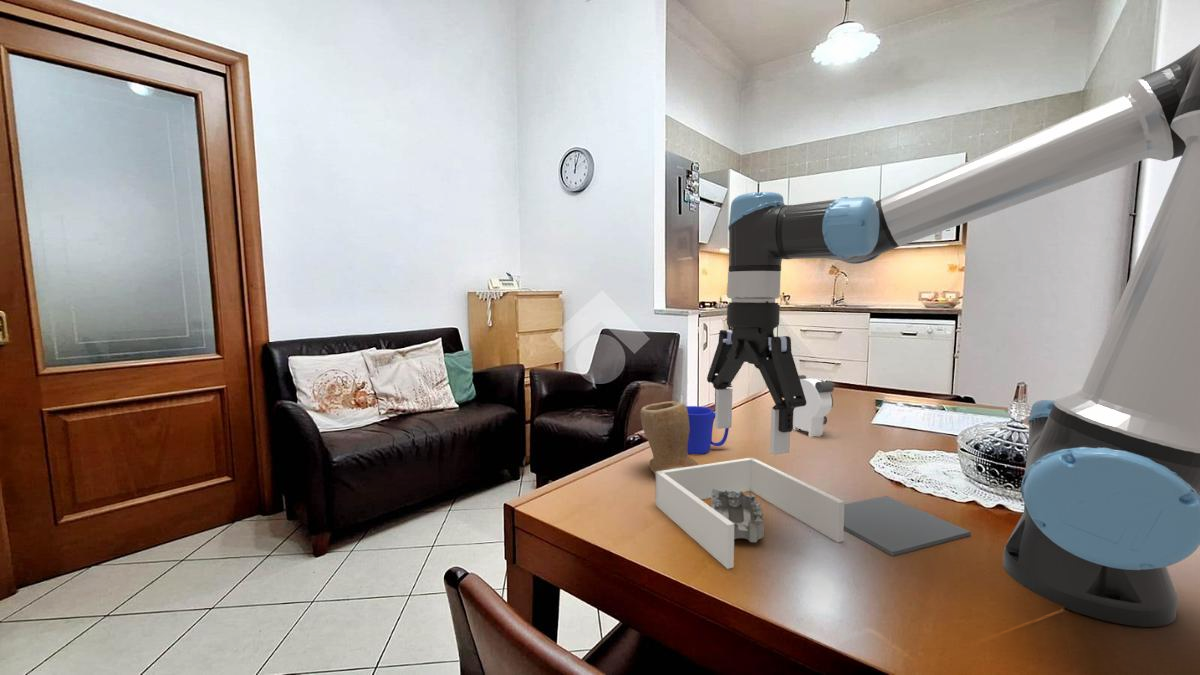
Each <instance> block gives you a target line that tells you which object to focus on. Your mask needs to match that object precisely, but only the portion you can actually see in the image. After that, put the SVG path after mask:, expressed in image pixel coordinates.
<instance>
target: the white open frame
mask: <svg viewBox="0 0 1200 675" xmlns="http://www.w3.org/2000/svg"><path fill="white" fill-rule="evenodd" d="M712 489H715V490H719V491H723V492H724V491H725V490H727V491H730V492H731V491H735V492H736V493H738V492H740V491H742V492H743V493H744V492H750V491H751V493H753V494H754V495H757V496H759V497H760V498H762V499H764V500H765V501H766V502H769V503H771V504H772V505H773V506H775V507H776V508H778V509H780V510H781V511H784V512H785V513H787V514H789V515H790V516H792V517H794V518H795V519H797V520H798V521H800V522H802V523H804V524H805V525H807V526H808V527H810V528H812V529H814V530H816V531H817V532H818V533H821V534H822V535H824V536H826V537H828V538H830V539H831V540H833V541H834V542H836V543H841V542H844V531H845V530H844V504H845V501H844V500H842V499H839V498H837V497H835V496H834V495H832V494H829V493H828V492H825V491H823V490H821V489H819V488H817V487H815V486H812V485H811V484H809V483H807V482H804V481H802V480H800V479H798V478H796V477H794V476H792V475H790V474H788V473H786V472H784V471H782V470H779V469H777V468H775V467H774V466H771V465H769V464H767V463H765V462H763V461H761V460H759V459H756V458H755V457H752V456H751V457H745V458H739V459H732V460H726V461H717V462H712V463H706V464H699V465H697V466H690V467H683V468H676V469H670V470H663V471H656V475H655V494H654V495H655V506H656V507H657V508H659V510H660V511H662V513H664V514H665V516H667V517H668V518H669V519H671V521H673V522H674V523H675V524H676V525H677V526H678V527H680V528H681V530H683V531H684V532H685V533H686V534H687V535H688V536H690V537H691V538H692V539H693V540H694V541H695V542H696V543H698V545H699V546H701V547H702V548H703V549H704V550H705V551H706V552H708V553H709V554H710V555H711V556H712V558H714V559H715V560H717V561H718V563H720V564H722V566H723V567H725V569H727V570H729V569H733V568H734V567H735V565H734V564H735V557H734V556H735V539H734V523H732V522H731V521H730V520H728V519H727V518H725V517H724V516H723V515H721V514H720V513H719V512H717V511H716V510H714V509H713V508H712V507H711V506H710V505H709V504H707V503H706V502H705V501H703V500H707V499H711V496H712Z"/></svg>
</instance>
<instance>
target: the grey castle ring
mask: <svg viewBox="0 0 1200 675" xmlns="http://www.w3.org/2000/svg"><path fill="white" fill-rule="evenodd" d="M710 499H711V500H710V505H711V506H710V507H712V508H713V509H714V510H716V511H717V512H719V513H720V514H721V515H723V516H724V517H725V518H727V519H728V520H730V521H731V522H732V523H734V540H736V539H745V540H748V541H749V543H757V542H758V540H760V539H763V538H764V534H765V533H764V532H765V526H764V521H763V520H764V518H763V517H764V514H763V509H762V506H761V503H760V501H758V499H756V494H754V492H750V493H749V494H744V492H742V491H740V492H738V493H736V492H735V491H731V492H730V491H727V490H725V491H724V492H723V491H719V490H715V489H712V496H711V498H710Z"/></svg>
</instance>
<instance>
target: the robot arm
mask: <svg viewBox="0 0 1200 675" xmlns="http://www.w3.org/2000/svg"><path fill="white" fill-rule="evenodd" d="M1179 157H1181V158H1180V161H1178V165H1177V167H1176V169H1175V171H1174V174H1173V176H1172V179H1171V181H1170V183H1169V186H1168V188H1167V190H1166V193H1165V195H1164V197H1163V199H1162V201H1161V204H1160V207H1159V209H1158V211H1157V213H1156V216H1155V219H1154V221H1153V222H1152V225H1151V227H1150V230H1149V232H1148V234H1147V237H1146V239H1145V242H1144V244H1143V246H1142V249H1141V251H1140V253H1139V256H1138V258H1137V260H1136V262H1135V265H1134V267H1133V269H1132V271H1131V274H1130V276H1129V279H1128V282H1127V284H1126V286H1125V288H1124V290H1123V293H1122V295H1121V297H1120V300H1119V302H1118V304H1117V306H1116V309H1115V311H1114V314H1113V316H1112V319H1111V321H1110V322H1109V325H1108V327H1107V329H1106V331H1105V332H1106V333H1105V335H1104V337H1103V339H1102V341H1101V343H1100V347H1099V349H1098V351H1097V353H1096V356H1095V357H1094V360H1093V362H1092V365H1091V367H1090V369H1089V372H1088V374H1087V376H1086V378H1085V381H1084V383H1083V386H1082V388H1081V390H1079V391H1077V392H1076V393H1073V394H1070V395H1066V396H1065V397H1064V396H1063V397H1060V398H1057V399H1056V400H1050V399H1049V400H1048V399H1045V400H1043V399H1042V400H1041V399H1040V400H1038V401H1035V402H1034V403H1033V404H1032V406H1031V409H1030V416H1028V418H1027V423H1028V424H1029V428H1028V429H1029V430H1028V441H1027V444H1028V445H1027V454H1026V455H1027V456H1026V462H1025V470H1024V475H1023V477H1022V480H1021V486H1020V489H1021V492H1020V493H1021V497H1022V500H1023V504H1024V505H1023V513H1022V514H1021V517H1020V519H1019V520H1018V522H1017V524H1016V525H1015V526H1014V529H1013V531H1012V533H1011V534H1010V536H1009V538H1008V540H1007V542H1006V544H1005V546H1004V547H1003V555H1002V567H1003V568H1004V570H1005V572H1006V573H1007V574H1008V575H1009V576H1010V577H1011V578H1012V579H1013V581H1014V580H1015V581H1016V582H1017V583H1018V584H1019V585H1021V586H1023V587H1024V588H1026V589H1028V590H1029V591H1031V592H1033V593H1034V594H1036V595H1038V596H1039V597H1043V598H1044V599H1047V600H1049V601H1051V602H1052V603H1055V604H1059V605H1060V606H1063V607H1064V609H1066V610H1069V611H1071V612H1075V613H1077V614H1081V615H1083V616H1084V615H1085V616H1088V617H1090V618H1095V619H1098V620H1100V621H1101V620H1102V621H1105V622H1109V623H1114V624H1121V625H1126V626H1133V627H1145V628H1151V627H1152V628H1153V627H1154V628H1155V627H1163V626H1167V625H1171V624H1172V623H1173V622H1174V621H1175V620H1176V619H1177V611H1178V610H1177V609H1178V595H1177V592H1176V589H1175V586H1174V583H1173V580H1172V578H1171V575H1170V572H1169V569H1168V567H1170V566H1173V565H1176V564H1177V563H1179V562H1182V561H1183V560H1186V559H1187V558H1188V557H1190V556H1192V555H1193V554H1194V553H1195V552H1197V549H1198V548H1199V547H1200V43H1199V44H1198V45H1197V46H1195V47H1194V48H1193V49H1191V50H1190V51H1188V52H1187V53H1185V54H1184V55H1182V56H1181V57H1179V58H1178V59H1176V60H1174V61H1173V62H1171V63H1169V64H1167V65H1165V66H1163V67H1162V68H1159V69H1157V70H1154V71H1153V72H1150V73H1147V74H1145V75H1144V76H1141V77H1139V78H1137V79H1135V80H1133V81H1132V83H1131V84H1130V85H1129V87H1128V88H1127V90H1126V91H1125V92H1124V93H1123V94H1122V95H1120V96H1118V97H1115V98H1114V99H1111V100H1109V101H1106V102H1103V103H1101V104H1099V105H1096V106H1094V107H1092V108H1090V109H1088V110H1085V111H1083V112H1080V113H1078V114H1076V115H1073V116H1071V117H1069V118H1067V119H1066V118H1065V119H1064V120H1062V121H1060V122H1058V123H1057V122H1056V123H1055V124H1053V125H1050V126H1047V127H1045V128H1043V129H1040V130H1039V131H1036V132H1034V133H1031V134H1029V135H1027V136H1024V137H1022V138H1020V139H1018V140H1015V141H1013V142H1010V143H1008V144H1006V145H1004V146H1001V147H999V148H997V149H996V148H995V149H994V150H992V151H990V152H987V153H984V154H983V155H979V156H978V157H975V158H973V159H971V160H969V161H967V162H964V163H961V164H960V165H957V166H954V167H953V168H950V169H947V170H945V171H943V172H940V173H939V174H936V175H934V176H931V177H928V178H925V179H924V180H923V181H919V182H917V183H915V184H911V185H910V186H908V187H905V188H903V189H901V190H898V191H895V192H894V193H891V194H889V195H887V196H885V197H882V198H881V199H879V200H876V201H875V200H874V199H873V198H872V197H869V196H860V197H859V196H857V197H848V196H844V197H843V196H842V197H839V198H836V199H829V200H828V199H827V200H822V201H820V200H819V201H813V202H807V203H796V204H788V205H787V204H785V202H784V197H783V195H782V194H780V193H778V192H773V191H761V192H760V191H759V192H748V193H743V194H740V195H737V196H736V197H735V198H734V199H733V200H732V201H731V204H730V213H729V223H728V227H727V228H728V229H727V230H728V272H727V286H726V287H727V291H726V292H727V293H726V295H727V296H726V297H727V298H728V299H730V301H731V302H728V304H727V306H726V325H727V327H730V328H732V329H721V330H720V331H719V333H718V343H717V347H716V350H715V353H714V355H713V358H712V362H711V365H710V367H709V371H708V374H707V377H706V381H707V382H708V383H711V384H712V387H713V388H714V389H715V390H714V397H715V398H714V405H715V410H714V411H715V419H714V428H715V429H716V430H717V429H718V430H721V429H725V428H729V429H730V428H732V426H733V425H732V421H733V419H732V418H733V416H732V415H733V386H732V382H733V381H734V379H735V378H736V376H737V374H738V372H739V371H740V369H742V367H743V365H744V363H745V362H747V363H748V364H751V365H753V366H754V368H756V369H757V370H759V372H760V374H761V376H762V379H763V382H764V383H765V385H766V387H767V389H768V391H769V394H770V395H771V397H772V400H773V402H774V405H773V406H772V407H771V413H770V415H771V416H770V417H771V418H770V441H769V442H770V443H769V445H770V446H769V447H770V448H769V454H771V455H773V456H776V455H783V454H789V453H790V446H791V445H790V444H791V441H790V440H791V432H793V421H794V408H796V407H801V406H805V405H806V399H805V395H804V392H803V389H802V385H801V382H800V379H799V376H798V375H799V372H798V369H797V365H796V363H795V359H794V356H793V353H792V352H793V351H792V339H791V337H790V336H789V335H785V336H781V335H780V336H775V334H774V330H775V328H777V327H779V326H780V310H781V308H780V307H781V305H780V304H779V302H776V299H779V298H780V297H781V273H782V262H783V260H797V259H828V260H832V261H833V260H835V261H840V262H841V261H842V262H844V263H847V264H853V265H858V264H863V263H867V262H871V261H873V260H875V259H877V258H878V257H880V255H882V254H883V253H886V252H889V251H891V250H892V251H893V250H894V249H896V248H900V247H903V246H904V245H907V244H910V243H912V242H916V241H918V240H920V239H921V240H922V239H924V238H927V237H930V236H932V235H935V234H939V233H941V232H943V231H946V230H950V229H952V228H955V227H957V226H960V225H963V224H966V223H969V222H971V221H975V220H977V219H979V218H983V217H986V216H989V215H991V214H994V213H995V214H996V213H998V212H1000V211H1003V210H1006V209H1009V208H1010V207H1014V206H1017V205H1019V204H1022V203H1026V202H1028V201H1031V200H1033V199H1036V198H1039V197H1041V196H1042V197H1043V196H1044V195H1047V194H1050V193H1053V192H1056V191H1059V190H1062V189H1064V188H1068V187H1070V186H1074V185H1075V184H1078V183H1081V182H1084V181H1088V180H1090V179H1093V178H1095V177H1098V176H1101V175H1104V174H1107V173H1110V172H1113V171H1114V170H1118V169H1120V168H1123V167H1126V166H1130V165H1132V164H1135V163H1138V162H1140V161H1143V160H1146V159H1151V160H1152V159H1153V160H1157V161H1161V162H1167V161H1170V160H1174V159H1177V158H1179ZM794 396H795V397H796V398H794Z"/></svg>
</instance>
